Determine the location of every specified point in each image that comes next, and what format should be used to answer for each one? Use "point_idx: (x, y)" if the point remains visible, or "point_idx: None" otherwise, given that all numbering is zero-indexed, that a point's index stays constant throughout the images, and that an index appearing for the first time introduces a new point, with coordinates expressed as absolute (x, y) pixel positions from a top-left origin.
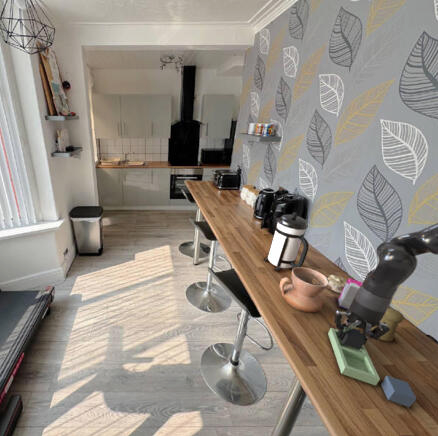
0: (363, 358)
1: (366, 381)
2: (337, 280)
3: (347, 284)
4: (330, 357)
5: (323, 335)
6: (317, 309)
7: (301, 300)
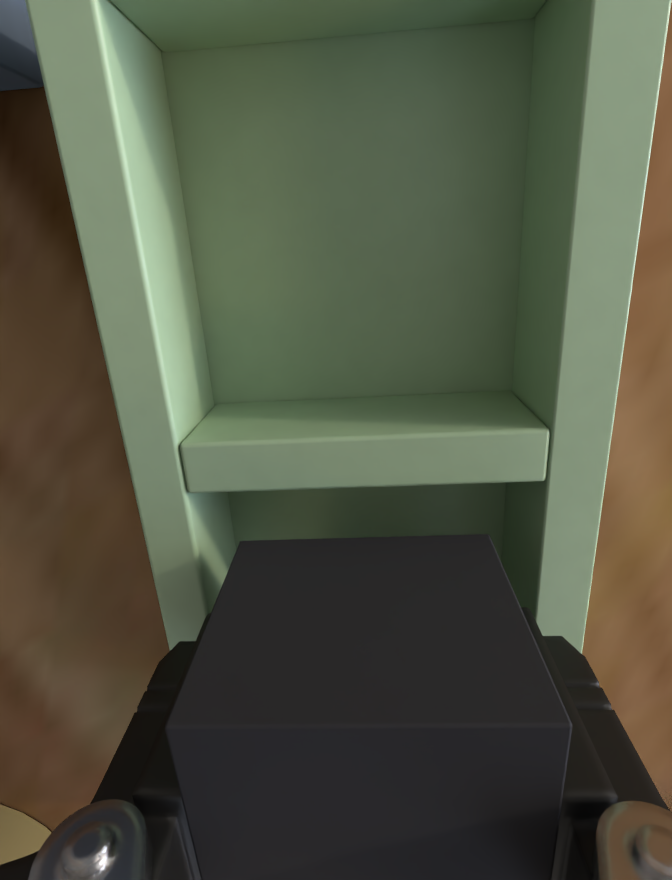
0: (207, 421)
1: None
2: None
3: None
4: (643, 264)
5: (593, 627)
6: None
7: None
